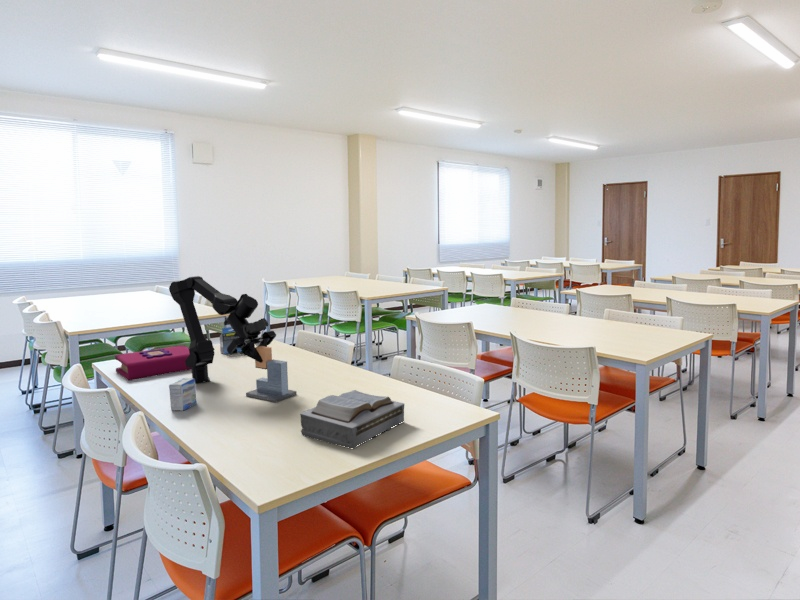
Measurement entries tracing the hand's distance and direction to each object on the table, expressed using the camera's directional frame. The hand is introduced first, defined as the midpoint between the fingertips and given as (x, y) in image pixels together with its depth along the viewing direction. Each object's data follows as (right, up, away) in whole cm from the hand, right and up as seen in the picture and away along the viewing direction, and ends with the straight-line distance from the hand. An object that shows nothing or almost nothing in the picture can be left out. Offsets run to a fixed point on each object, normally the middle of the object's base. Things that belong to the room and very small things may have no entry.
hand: (265, 360), depth 187 cm
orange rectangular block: (-1, -2, +1) cm, 3 cm away
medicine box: (-24, -14, -11) cm, 30 cm away
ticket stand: (+2, -12, 0) cm, 12 cm away
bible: (+33, -16, -31) cm, 48 cm away
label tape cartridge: (-33, -4, +68) cm, 75 cm away
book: (-54, -8, +38) cm, 66 cm away
